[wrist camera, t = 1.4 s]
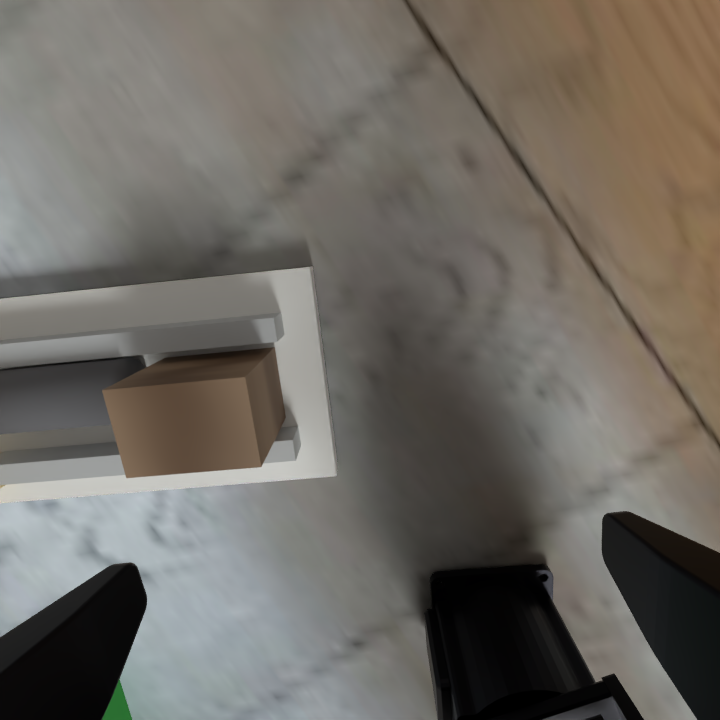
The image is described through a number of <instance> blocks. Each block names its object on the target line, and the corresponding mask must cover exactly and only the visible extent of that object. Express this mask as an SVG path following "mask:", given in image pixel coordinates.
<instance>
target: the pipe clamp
mask: <svg viewBox="0 0 720 720" xmlns="http://www.w3.org/2000/svg"><path fill="white" fill-rule="evenodd" d="M102 720H132V717H131V714H130V711H129V708H128V705H127V702H126V699H125V696H124V692H123V689H122V686H121V683H120V680H119V681H118V684H117V686H116V689H115V691H114V694H113V696H112V699H111V701H110V703H109V705H108V708H107V710H106V712H105V714H104V716H103V719H102Z"/></svg>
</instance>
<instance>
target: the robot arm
mask: <svg viewBox="0 0 720 720" xmlns="http://www.w3.org/2000/svg"><path fill="white" fill-rule="evenodd" d="M602 555H603V559H604V562H605V564H606V566H607V568H608V570H609V572H610V574H611V576H612V577H613V579H614V581H615V583H616V585H617V587H618V588H619V590H620V592H621V594H622V596H623V598H624V600H625V601H626V603H627V605H628V607H629V609H630V611H631V613H632V614H633V616H634V618H635V620H636V622H637V624H638V625H639V627H640V629H641V631H642V633H643V635H644V637H645V638H646V640H647V642H648V644H649V645H650V647H651V649H652V651H653V652H654V654H655V656H656V657H657V659H658V660H659V662H660V663H661V665H662V667H663V668H664V670H665V671H666V673H667V674H668V676H669V677H670V679H671V680H672V682H673V683H674V685H675V686H676V688H677V689H678V691H679V692H680V694H681V696H682V697H683V699H684V700H685V702H686V703H687V705H688V706H689V708H690V709H691V711H692V712H693V714H694V715H695V717H696V718H697V720H720V553H719V552H717V551H715V550H712V549H710V548H708V547H706V546H704V545H701V544H699V543H697V542H695V541H693V540H690V539H688V538H686V537H684V536H682V535H679V534H677V533H675V532H673V531H671V530H668V529H666V528H664V527H662V526H660V525H657V524H655V523H653V522H651V521H649V520H646V519H644V518H642V517H640V516H638V515H635V514H633V513H631V512H627V511H622V512H613V513H607V514H605V515H604V517H603V520H602ZM541 574H544V575H543V576H540V575H541ZM438 581H442V582H441V583H437V582H438ZM430 591H431V606H432V609H427V610H426V612H425V613H424V615H425V629H426V642H427V651H428V658H429V665H430V671H431V678H432V684H433V691H434V697H435V704H436V711H437V717H438V720H644V719H643V718H642V716H641V714H640V713H639V711H638V710H637V708H636V707H635V705H634V703H633V702H632V700H631V699H630V697H629V696H628V694H627V693H626V691H625V689H624V688H623V686H622V685H621V683H620V682H619V680H618V678H617V677H616V675H615V674H611V675H608V676H605V677H602V681H599V682H595V680H594V678H593V676H592V674H591V672H590V670H589V669H588V667H587V665H586V663H585V661H584V659H583V657H582V655H581V654H580V652H579V650H578V648H577V646H576V644H575V642H574V640H573V639H572V637H571V635H570V633H569V631H568V629H567V627H566V626H565V624H564V622H563V620H562V618H561V616H560V614H559V612H558V611H557V609H556V607H555V605H554V603H553V574H552V572H551V571H550V569H549V568H548V566H546V565H542V564H540V565H525V566H511V567H497V568H482V569H468V570H454V571H439V572H435V573H433V574H432V575H431V576H430ZM146 605H147V595H146V592H145V589H144V586H143V583H142V580H141V577H140V574H139V570H138V568H137V566H136V565H135V564H134V563H121V564H113V565H111V566H109V567H107V568H106V569H104V570H103V571H101V572H100V573H98V574H96V575H95V576H93V577H92V578H90V579H89V580H87V581H86V582H84V583H83V584H81V585H80V586H78V587H77V588H75V589H74V590H72V591H70V592H69V593H67V594H66V595H64V596H63V597H61V598H60V599H58V600H57V601H55V602H54V603H52V604H51V605H49V606H48V607H46V608H44V609H43V610H41V611H40V612H38V613H37V614H35V615H34V616H32V617H31V618H29V619H28V620H26V621H25V622H23V623H22V624H20V625H19V626H17V627H15V628H14V629H12V630H11V631H9V632H8V633H6V634H5V635H3V636H2V637H0V720H102V719H103V716H104V714H105V712H106V710H107V708H108V705H109V703H110V701H111V699H112V696H113V694H114V691H115V689H116V686H117V684H118V681H119V679H120V676H121V673H122V671H123V668H124V665H125V663H126V660H127V658H128V655H129V652H130V650H131V647H132V644H133V642H134V639H135V636H136V634H137V631H138V629H139V626H140V623H141V621H142V618H143V615H144V613H145V610H146Z"/></svg>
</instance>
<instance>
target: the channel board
mask: <svg viewBox="0 0 720 720" xmlns="http://www.w3.org/2000/svg"><path fill="white" fill-rule="evenodd" d="M272 347H275V352H276V358H277V365H278V371H279V377H280V384H281V390H282V396H283V403H284V409H285V415H286V419H285V421H284V423H283V425H282V427H281V429H280V431H279V433H278V435H277V437H276V439H275V441H274V443H273V445H272V447H271V449H270V451H269V453H268V455H267V457H266V459H265V461H264V463H263V465H262V467H258V468H245V469H233V470H221V471H209V472H197V473H185V474H172V475H160V476H148V477H136V478H126V475H125V472H124V468H123V465H122V461H121V457H120V454H119V450H118V447H117V443H116V439H115V436H114V432H113V428H112V425H103V426H92V427H81V428H69V429H58V430H47V431H35V432H24V433H12V434H1V435H0V503H10V502H22V501H34V500H47V499H59V498H72V497H84V496H96V495H109V494H121V493H134V492H146V491H158V490H171V489H183V488H196V487H208V486H220V485H233V484H245V483H258V482H270V481H282V480H295V479H307V478H320V477H332V476H337V470H338V461H337V454H336V446H335V438H334V430H333V422H332V414H331V406H330V398H329V390H328V383H327V375H326V367H325V359H324V351H323V343H322V335H321V327H320V319H319V311H318V304H317V296H316V288H315V280H314V272H313V266H311V267H302V268H292V269H282V270H273V271H263V272H253V273H243V274H234V275H224V276H214V277H205V278H195V279H185V280H176V281H166V282H156V283H146V284H137V285H127V286H117V287H108V288H98V289H88V290H78V291H69V292H59V293H49V294H40V295H30V296H20V297H10V298H1V299H0V370H1V369H11V368H22V367H32V366H43V365H53V364H64V363H74V362H85V361H95V360H106V359H117V358H127V357H133V358H136V359H138V360H139V361H140V362H141V363H142V364H143V365H144V366H145V368H146V367H148V366H150V365H152V364H154V363H156V362H158V361H160V360H162V359H164V358H166V357H177V356H187V355H198V354H209V353H219V352H230V351H240V350H251V349H261V348H272Z"/></svg>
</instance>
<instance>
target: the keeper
mask: <svg viewBox="0 0 720 720" xmlns="http://www.w3.org/2000/svg"><path fill="white" fill-rule="evenodd" d="M102 392H103V396H104V400H105V403H106V407H107V410H108V414H109V418H110V421H111V425H112V428H113V432H114V436H115V439H116V443H117V447H118V450H119V454H120V457H121V461H122V465H123V468H124V472H125V475H126V478H136V477H148V476H160V475H172V474H185V473H197V472H209V471H221V470H233V469H245V468H258V467H262V465H263V463H264V461H265V459H266V457H267V455H268V453H269V451H270V449H271V447H272V445H273V443H274V441H275V439H276V437H277V435H278V433H279V431H280V429H281V427H282V425H283V423H284V421H285V419H286V415H285V409H284V403H283V396H282V390H281V384H280V377H279V371H278V365H277V358H276V352H275V347H272V348H261V349H251V350H240V351H230V352H219V353H209V354H198V355H187V356H177V357H166V358H164V359H162V360H160V361H158V362H156V363H154V364H152V365H150V366H148V367H146V368H144V369H142V370H140V371H138V372H136V373H134V374H133V375H131V376H129V377H127V378H125V379H123V380H121V381H119V382H117V383H115V384H113V385H111V386H109V387H107V388H105V389H103V390H102Z"/></svg>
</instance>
